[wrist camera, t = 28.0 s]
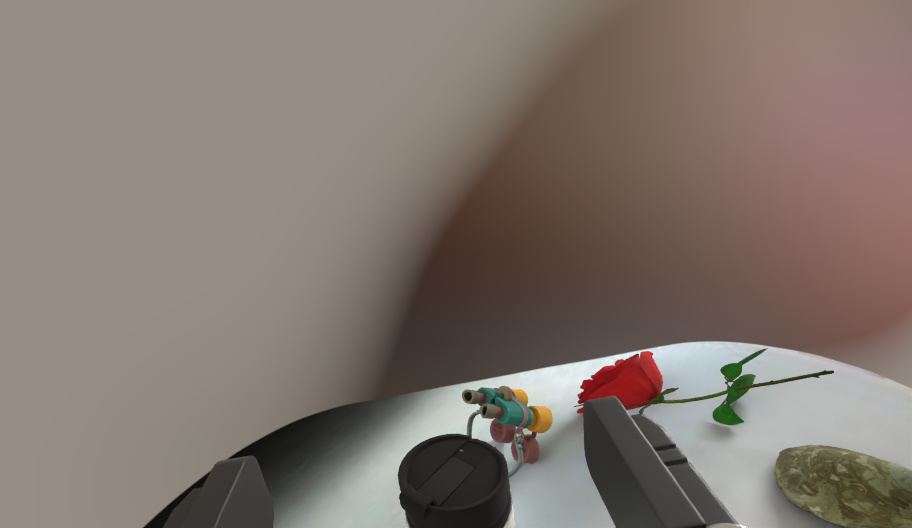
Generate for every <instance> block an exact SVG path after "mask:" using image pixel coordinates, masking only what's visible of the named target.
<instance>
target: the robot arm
mask: <svg viewBox="0 0 912 528" xmlns="http://www.w3.org/2000/svg"><path fill="white" fill-rule="evenodd" d="M583 418H584V449H585V457H586V461H587V465H588V469H589V472H590V474H591V477H592V479H593V481H594V483H595V485H596V487H597V489H598V491H599V493H600V495H601V497H602V499H603V501H604V503H605V506H606V508H607V510H608V512H609V514H610V516H611V518H612V520H613V522H614V524H615V526H616V528H747V527H745V526H741V525H739V524H738V523H737V522H736V521H735V519H734V518H733V517H732V516H731V514H730V513H729V512H728V511H727V509H726V508H725V507H724V505H723V504H722V503H721V502H720V500H719V499H718V498H717V496H716V495H715V494H714V493H713V491H712V490H711V489H710V487H709V486H708V485H707V484H706V482H705V481H704V480H703V479H702V477H701V476H700V475H699V473H698V472H697V471H696V470H695V468H694V467H693V466H692V464H691V463H688V461H687V458H686V457H685V455H684V454H683V453H682V452H681V450H680V449H679V448H677V447H676V444H675V443H674V441H673V440H672V439H671V437H670V436H669V435H668V434H667V432H666V431H665V430H664V429H663V427H662V426H660V425H659V424H657V423H656V422H654V421H653V420H651V419H650V418H648V417H647V416H645V415H644V414H637V415H631V416H630V414H629V413H628V411H627V410H626V409H625V407H624V406H623V404H622V403H621V402H620V400H619V399H618V398H617V397H616V396H609V397H604V398H598V399H592V400H586V401H584V404H583ZM273 520H274V511H273V504H272V501H271V498H270V495H269V492H268V490H267V487H266V484H265V481H264V478H263V476H262V473H261V470H260V467H259V464H258V462H257V460H256V458H255V457H254V456H246V457H240V458H234V459H228V460H222V461H219V462H217V463H216V464H215V466H214V467H213V469H212V471H211V472H210V474H209V476H208V478H207V480H206V482H205V483H204V485H203V487H202V488H197V489H193V490H192V491H191V492H190V493H189V495H188V496H187V497H186V498H185V499H184V500H183V501H182V502H181V503H180V504H179V505H178V506H177V507H176V508H175V509H174V510H173V511H172V513H171V515H170V517H169V518H168V520H167V522H166V523H165V525H164V527H163V528H273Z"/></svg>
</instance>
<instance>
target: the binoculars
mask: <svg viewBox="0 0 912 528" xmlns="http://www.w3.org/2000/svg"><path fill="white" fill-rule="evenodd" d="M462 398H463V400H464V401H465V402H466V403H468V404H477V403H478V405H480V406H481V407H480V409H479V410H477V412H474V413H472V414H471V416H470V417H469V420H468V425H467V435H468V436H470V437H471V439H472V423H473V420H474V418H475V416H476V415H478V414H481V416H482V417H483V418H489V419H493V418H495V419H494V420H493V421H492V423H491V426H490V433H491V436H492V438H493V440H494V441H496V442H502V443H510V442H512V441H513V442H512V446H511V451H512V455H513V457H514V459H515V460H516V461H517V462H518V463H517V465H516V467H515V468H514V469H513V470H512V471H511V472H510V473H509V474H508V476H509V477H511V476H513V475H514V474H515V473H516V472H518V470H519V469H520V468H521V466H522V464H523V463H529V464H532V463H534V462H536V460H537V459H538V456H539V445H538V442H537V440H536V439H535V437H536V434H537V433H544V432H546V431H547V430H548V429H549V428H550V426H551V424H552V414H551V411H550V410H549V409H548V408H546V407H539V406H529V407H527V404H528V397H527V394H526V393H525V392H524V391H523V390H514V389H510V388H509V387H507V386H501V387H500V388H499V389H498V388H494V389H491V388H483V387H482V388H480V389H479V390H478V391H474V390H465V391H463V393H462ZM515 426H516V427H518V428H517V429H516V428H515ZM523 428H527V429H528V430H529V431H532V435H530V434H527V435H524V434H523V432H522V430H523ZM516 433H518V434H522V436H519V437H516ZM513 439H514V440H513Z"/></svg>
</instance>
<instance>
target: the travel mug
mask: <svg viewBox="0 0 912 528" xmlns="http://www.w3.org/2000/svg"><path fill="white" fill-rule="evenodd" d="M398 480H399V486H400V490H401V493H400V496H399V499H400V504H401V506H402V508H403V509H404V510H405V512H406V513H405V514H406V522H407V527H408V528H515V523H514V514H513V504H512V497H511V492H510V485H509V476H508V468H507V462H506V460H505V457H504V455H503V454H502V453H501V452H500V451H498V450H497V449H496V448H495V447H494V448H493V446H491V445H489V444H488V443H486V442H484V441H481V440H478V439H471V437H470V436H468V435H462V434H446V435H441V436H436V437H433V438H430V439H428V440H426V441H423V442H421V443H420V444H418V445H417V446H415V447H414V448H413V449H412V450H410V451H409V452H408V453H407V455H406V456H405V457H404V459H403V460H402V462H401V465H400V467H399V472H398Z"/></svg>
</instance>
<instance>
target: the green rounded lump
mask: <svg viewBox="0 0 912 528" xmlns="http://www.w3.org/2000/svg"><path fill="white" fill-rule="evenodd" d="M774 474H775V476H776V478H777V484H778V486H779V488H780V489H782V490H783V492H784V494H785V496H786V497H787V499H788V500H789V501H791V502H792V503H794V504H795V505H797V506H798V507H800V508H801V509H803V510H805V511H810V512H811V513H813V514H815V515H816V516H817V517H819V518H821V519H823V520H825V521H828V522H830V523H834V524H837V525H841V526H845V527H849V528H912V471H911V470H909V469H907V468H904V467H902V466H899V465H897V464H893V463H890V462H887V461H883V460H880V459H877V458H874V457H871V456H868V455H865V454H862V453H857V452H853V451H850V450H846V449H842V448H837V447H831V446H821V445H819V446H815V445H809V446H800V447H795V448H788V449H785V450H782V451H781V452H780V453H779V456H778V459H777V462H776V468H775V471H774Z"/></svg>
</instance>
